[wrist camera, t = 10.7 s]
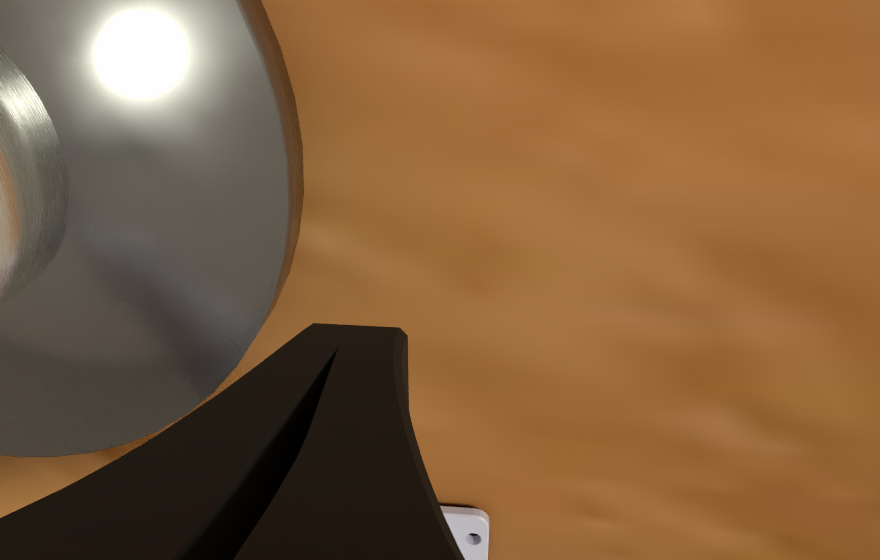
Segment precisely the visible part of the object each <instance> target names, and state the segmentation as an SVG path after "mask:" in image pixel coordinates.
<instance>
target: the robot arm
mask: <svg viewBox="0 0 880 560" xmlns="http://www.w3.org/2000/svg"><path fill="white" fill-rule="evenodd" d="M470 533H475V534H478V535H477V536H472V535H469V534H470ZM488 541H489V517H488V515H487V514H486V513H485V512H484V511H482V510H480V509H475V508H462V507H448V506H440V505H439V503H438V500H437V498H436V495H435V493H434V491H433V488H432V485H431V483H430V480H429V477H428V475H427V472H426V469H425V466H424V463H423V460H422V457H421V454H420V450H419V447H418V444H417V441H416V437H415V434H414V430H413V426H412V422H411V418H410V413H409V393H408V336H407V335H406V334H405V333H404V332H403V331H402V330H401V329H400V328H395V327H376V326H357V325H338V324H318V323H313V324H312V325H310V326H309V327H307V328H306V329H304V330H303V331H302V332H300V333H299V334H298V335H296V336H295V337H294V338H292V339H291V340H290V341H288V342H287V343H286V344H285V345H283V346H282V347H281V348H279V349H278V350H277V351H275V352H274V353H273V354H272V355H270V356H269V357H268V358H266V359H265V360H264V361H263V362H261V363H260V364H259V365H257V366H256V367H255V368H253V369H252V370H251V371H249V372H248V373H246V374H245V375H244V376H242V377H241V378H240V379H238V380H237V381H236V382H234V383H233V384H232V385H230V386H229V387H228V388H226V389H225V390H224V391H222V392H221V393H220V394H218V395H217V396H215V397H214V398H212V399H211V400H209V401H208V402H206V403H205V404H203V405H202V406H200V407H199V408H197V409H196V410H194V411H193V412H191V413H190V414H188V415H187V416H185V417H184V418H182V419H181V420H179V421H178V422H176V423H175V424H173V425H172V426H171V427H169V428H168V429H166V430H165V431H163V432H162V433H160V434H159V435H157V436H155V437H154V438H152V439H150V440H149V441H147V442H146V443H144V444H142V445H141V446H139V447H137V448H136V449H134V450H132V451H130V452H129V453H127V454H125V455H124V456H122V457H120V458H118V459H117V460H115V461H113V462H111V463H109V464H108V465H106V466H104V467H102V468H100V469H98V470H97V471H95V472H93V473H91V474H89V475H88V476H86V477H84V478H82V479H80V480H78V481H77V482H75V483H73V484H71V485H69V486H67V487H65V488H63V489H61V490H59V491H57V492H55V493H53V494H50V495H48V496H46V497H44V498H42V499H40V500H38V501H36V502H34V503H31V504H29V505H27V506H25V507H23V508H21V509H19V510H17V511H14V512H12V513H10V514H8V515H6V516H4V517H2V518H0V560H488Z"/></svg>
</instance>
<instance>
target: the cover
mask: <svg viewBox="0 0 880 560" xmlns="http://www.w3.org/2000/svg"><path fill="white" fill-rule="evenodd" d="M69 208H70V187H69V179H68V173H67V166H66V162H65V158H64V154H63V151H62V147H61V144H60V141H59V138H58V136H57V133H56V131H55V128H54V126H53V123H52V121H51V119H50V117H49V115H48V113H47V111H46V109H45V108H44V106H43V104H42V102H41V100H40V98H39V96H38V95H37V93H36V92H35V91H34V89H33V88H32V86H31V85H30V83H29V82H28V80H27V79H26V77H25V76H24V74H23V73H22V72H21V71H20V69H19V68H18V67H17V66H16V65H15V63H14V62H13V61H12V60H11V59H10V57H9V56H8V55H7V54H6V53H5V52H4V51H3V50H2V49H1V48H0V306H1V305H3V304H4V303H5V302H7V301H8V300H10V299H11V298H12V297H14V296H15V295H16V294H18V293H19V292H21V291H22V290H23V289H25V288H26V287H27V286H29V285H30V284H32V283H33V282H34V281H35V280H36V279H37V278H38V277H39V276H40V275H41V274H42V273H44V272H45V270H46V269H47V268H48V266H49V265H50V264H51V262H52V261H53V259H54V258H55V256H56V254H57V252H58V250H59V248H60V246H61V244H62V242H63V238H64V235H65V231H66V228H67V224H68V216H69Z"/></svg>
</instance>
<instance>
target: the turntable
mask: <svg viewBox="0 0 880 560" xmlns="http://www.w3.org/2000/svg"><path fill="white" fill-rule="evenodd" d="M0 48H1V49H2V50H3V51H4V52H5V53H6V54H7V55H8V56H9V57H10V59H11V60H12V61H13V62H14V63H15V65H16V66H17V67H18V68H19V69H20V71H21V72H22V73H23V74H24V76H25V77H26V79H27V80H28V82H29V83H30V85H31V86H32V88H33V89H34V91H35V92H36V93H37V95H38V96H39V98H40V100H41V102H42V104H43V106H44V108H45V109H46V111H47V113H48V115H49V117H50V119H51V121H52V123H53V126H54V128H55V131H56V133H57V136H58V138H59V141H60V144H61V147H62V151H63V154H64V158H65V162H66V166H67V173H68V179H69V187H70V208H69V216H68V224H67V228H66V231H65V235H64V238H63V242H62V244H61V246H60V248H59V250H58V252H57V254H56V256H55V258H54V259H53V261H52V262H51V264H50V265H49V266H48V268H47V269H46V270H45V272H44V273H42V274H41V275H40V276H39V277H38V278H37V279H36V280H35V281H34V282H33V283H32V284H30V285H29V286H27V287H26V288H25V289H23V290H22V291H21V292H19V293H18V294H16V295H15V296H14V297H12V298H11V299H10V300H8V301H7V302H5V303H4V304H3V305H1V306H0V455H6V456H15V457H56V456H65V455H74V454H83V453H90V452H94V451H99V450H103V449H107V448H111V447H115V446H119V445H123V444H126V443H129V442H131V441H134V440H136V439H139V438H141V437H144V436H146V435H149V434H151V433H154V432H156V431H158V430H160V429H162V428H163V427H165V426H167V425H169V424H170V423H172V422H174V421H175V420H177V419H179V418H181V417H182V416H184V415H186V414H187V413H188V412H190V411H191V410H192V409H193V408H195V407H196V406H197V405H198V404H200V403H201V402H202V401H203V400H205V399H206V398H207V397H208V396H209V395H211V394H212V393H213V392H214V391H215V390H216V389H217V388H218V387H219V385H220V384H221V383H222V382H223V381H224V380H225V379H226V378H227V376H228V375H229V374H230V373H231V372H232V371H233V370H234V369H235V368H236V366H237V365H238V363H239V362H240V360H241V359H242V357H243V356H244V354H245V352H246V351H247V349H248V348H249V346H250V345H251V343H252V342H253V340H254V338H255V337H256V335H257V334H258V332H259V331H260V329H261V327H262V326H263V324H264V323H265V321H266V320H267V318H268V316H269V315H270V313H271V312H272V310H273V308H274V307H275V305H276V302H277V300H278V298H279V295H280V293H281V291H282V288H283V286H284V284H285V281H286V279H287V277H288V274H289V272H290V268H291V264H292V260H293V256H294V252H295V249H296V245H297V241H298V237H299V232H300V223H301V213H302V204H303V195H304V180H303V146H302V140H301V133H300V127H299V121H298V114H297V108H296V102H295V96H294V93H293V89H292V86H291V83H290V79H289V76H288V72H287V69H286V65H285V62H284V58H283V55H282V51H281V48H280V45H279V43H278V40H277V38H276V35H275V33H274V31H273V28H272V26H271V23H270V21H269V19H268V16H267V14H266V11H265V9H264V7H263V4H262V2H261V0H0Z"/></svg>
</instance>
